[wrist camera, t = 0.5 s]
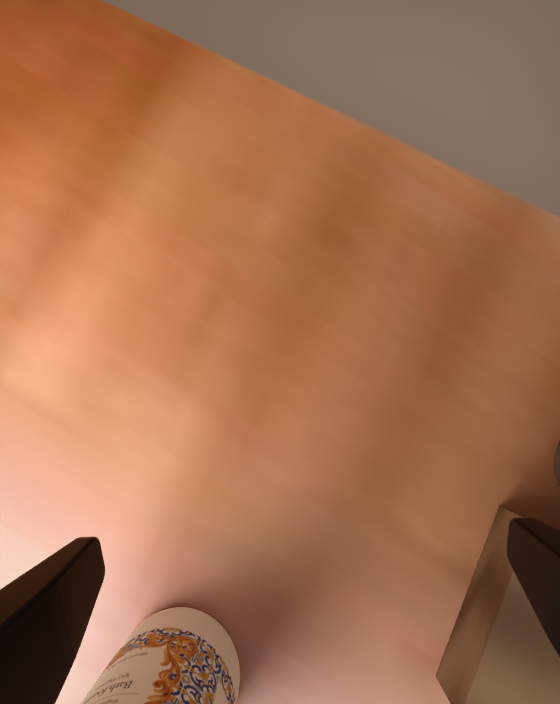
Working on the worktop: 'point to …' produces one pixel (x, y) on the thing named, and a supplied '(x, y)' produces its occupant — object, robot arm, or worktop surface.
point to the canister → (557, 463)
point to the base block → (499, 637)
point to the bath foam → (172, 663)
